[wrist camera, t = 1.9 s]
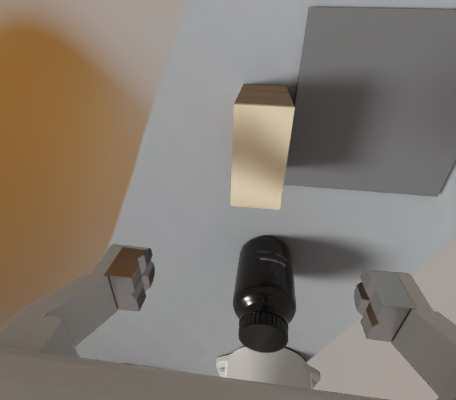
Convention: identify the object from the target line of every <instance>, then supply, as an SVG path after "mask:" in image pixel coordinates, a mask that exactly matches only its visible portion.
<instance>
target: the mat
mask: <svg viewBox="0 0 456 400" xmlns="http://www.w3.org/2000/svg"><path fill="white" fill-rule="evenodd" d="M294 106H295V110H294V117H293V124H292V130H291V137H290V144H289V151H288V157H287V164H286V171H285V178H284V184H283V185H295V186H308V187H320V188H333V189H346V190H359V191H372V192H385V193H398V194H411V195H424V196H437V197H438V195H439V193H440V191H441V189H442V187H443V185H444V182H445V180H446V178H447V176H448V174H449V172H450V170H451V168H452V166H453V164H454V162H455V160H456V10H452V9H397V8H343V7H309V9H308V16H307V23H306V30H305V37H304V43H303V50H302V57H301V64H300V71H299V78H298V84H297V91H296V98H295V105H294Z"/></svg>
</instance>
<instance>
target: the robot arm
mask: <svg viewBox="0 0 456 400" xmlns="http://www.w3.org/2000/svg"><path fill="white" fill-rule="evenodd" d="M151 258H152V251H151V249H150V248H143V247H135V246H127V245H117V244H113V245H111V246H110V247H109V248H108V250H107V251H106V252H105V254H104V255H103V256H102V258H101V259H100V261H99V262H98V263H97V265H96V266H95V267H94V269H93V270H92V271H91V273H90V274H84V275H82V276H81V277H79V278H77V279H75V280H73V281H72V282H70V283H68V284H66V285H64V286H63V287H61V288H59V289H57V290H55V291H54V292H52V293H50V294H48V295H46V296H45V297H43V298H41V299H39V300H37V301H36V302H34V303H32V304H30V305H28V306H26V307H25V308H23V309H21V310H19V311H18V312H17V314H16V315H15V316H14V317H13V318H12V319H11V320H10V322H9V323H8V324H7V325H6V326H5V327H4V328H3V329H2V330H1V332H0V400H386V399H379V398H371V397H364V396H357V395H349V394H342V393H335V392H327V391H320V390H313V387H314V386H315V385H316V384H317V383H318V382H319V380H320V372H319V371H318V370H316V369H314V368H313V367H311V366H309V365H308V364H307V363H306V362H305V360H304V359H303V358H302V357H301V356H299V355H298V354H296V353H295V352H293V351H291V350H288V349H286V348H283V349H282V350H280V351H277V352H273V353H261V352H256V351H253V350H251V349H249V348H247V347H243V348H240V349H238V350H236V351H235V352H233V353H232V354H230V355H226V356H221V357H218V358H217V360H216V366H217V369H218V372H219V375H220V377H218V376H211V375H203V374H196V373H189V372H181V371H174V370H167V369H159V368H152V367H145V366H138V365H130V364H123V363H116V362H109V361H101V360H94V359H87V358H80V357H79V355H78V352H77V350H76V348H75V346H77V345H78V344H79V343H80V342H81V341H83V340H84V339H85V338H86V337H87V336H88V335H90V334H91V333H92V332H93V331H94V330H95V329H97V328H98V327H99V326H100V325H101V324H102V323H104V322H105V321H106V320H107V319H108V318H110V317H111V316H112V315H113V314H114V313H115V312H117V311H118V310H117V309H119V310H130V311H140V309H141V306H142V304H143V302H144V300H145V298H146V294H145V291H146V290H147V289H149V288H150V287H151V284H152V282H153V278H154V270H155V268H154V264H153V263H152V262H151ZM360 278H361V280H362V282H361V283H359V284H357V286H356V289H355V292H354V301H355V306H356V309H357V311H358V312H359V313H360V314H361V315H362V316H363V317H362V319H361V324H362V327H363V330H364V332H365V335H366V338H367V339H373V340H381V341H387V342H392V344H393V345H394V347H395V348H396V349H397V350H398V351H399V352H400V353H401V354H402V356H403V357H404V358H405V359H406V360H407V361H408V362H409V363H410V364H411V366H412V367H413V368H414V369H415V370H416V371H417V372H418V374H419V375H420V376H421V377H422V378H423V379H424V380H425V381H426V382H427V384H428V385H429V386H430V387H431V388H432V389H433V390H434V391H435V393H436V394H437V395H438V396H439V398H438V399H437V400H456V325H455V324H454V323H452V322H451V321H450V320H448V319H447V318H446V317H444V316H443V315H442V314H440V313H439V312H434V311H433V310H432V308H431V306H430V305H429V303H428V302H427V300H426V298H425V297H424V295H423V294H422V292H421V290H420V289H419V287H418V285H417V284H416V282H415V281H414V279H413V277H412V276H411V275H410V274H409V273H401V272H389V271H378V270H367V269H364V270H363V271H362V273H361V276H360Z"/></svg>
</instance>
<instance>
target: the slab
mask: <svg viewBox="0 0 456 400" xmlns="http://www.w3.org/2000/svg"><path fill="white" fill-rule="evenodd" d="M294 110H295V106H294V104H293V101H292V99H291V97H290V94H289V92H288V89H287V87H286V86H274V85H252V84H243V86H242V88H241V91H240V93H239V95H238V97H237V99H236V101H235V103H234V117H233V146H232V175H231V204H230V206H241V207H252V208H264V209H276V210H280V205H281V198H282V191H283V184H284V178H285V171H286V164H287V157H288V151H289V144H290V137H291V130H292V124H293V117H294Z"/></svg>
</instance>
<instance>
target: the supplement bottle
mask: <svg viewBox="0 0 456 400" xmlns="http://www.w3.org/2000/svg"><path fill="white" fill-rule="evenodd" d="M233 308H234V311H235V313H236V315H237V317H238V318H239V319H240V320H239V340H240V341H241V343H242V344H243V345H244V346H245V347H247V348H249V349H251V350H253V351H256V352H261V353H273V352H277V351H280V350H282V349H283V348H284V347H285V346H286V345H287V342H288V323H289V322H290V321H291V320H292V319H293V317H294V315H295V312H296V299H295V288H294V277H293V266H292V256H291V253H290V250H289V249H288V247H287V246H286V245H285V244H284V243H283V242H281V241H280V240H278V239H275V238H272V237H257V238H254V239H252V240H250V241H248V242H247V243H246V244H245V245H244V246H243V247H242V249H241V252H240V257H239V263H238V270H237V277H236V283H235V290H234V297H233Z"/></svg>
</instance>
